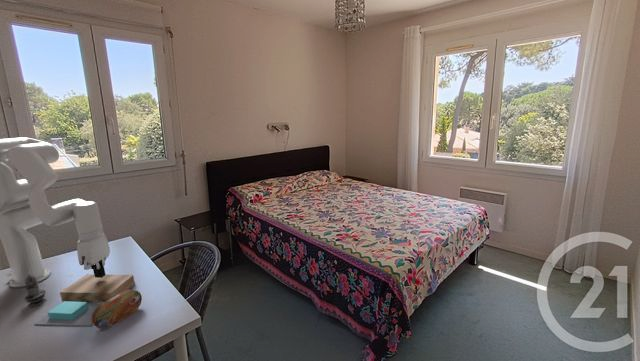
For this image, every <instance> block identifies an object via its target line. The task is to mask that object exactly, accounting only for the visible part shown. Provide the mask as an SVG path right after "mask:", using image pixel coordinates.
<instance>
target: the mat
mask: <svg viewBox="0 0 640 361" xmlns="http://www.w3.org/2000/svg"><path fill="white" fill-rule="evenodd" d="M102 303H103V302H87V304H88V309H87V310H85V311H84V312H83V313H81V314H80V315H79V316H77V317H76V318H75V319H74V320H68V319H49V316H48V314H45V316H43V317H42V318H40V319H39V320H38V321H36V322H35V323H34V326H58V327H59V326H61V327H62V326H63V327H93V326H94V325H93V323H92V314H93V312H94V310H95V309H96V308H97V307H98V306H99V305H100V304H102Z"/></svg>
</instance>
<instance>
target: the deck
mask: <svg viewBox="0 0 640 361" xmlns="http://www.w3.org/2000/svg"><path fill="white" fill-rule="evenodd" d="M134 278H135V277H134V274H106V275H105V276H103V277H102V278H97V277H95V276H94V273H92V274H85V275H84V276H82V277H81V278H79V279H78V280H76V281H74V282H72V283H71V284H70V285H68V286H67V287H66V288H63V290H61V291H60V292H59V294H60V298H61V303H62V302H64V301H72V302H87V303H104V302H105V301H107V300H109V299H111V298H112V297H114V296H116V295H118V294H119V293H121V292H123V291H125V290H130V288H132V287H133V286H134V285H135V284H136V282H135V279H134Z"/></svg>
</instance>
